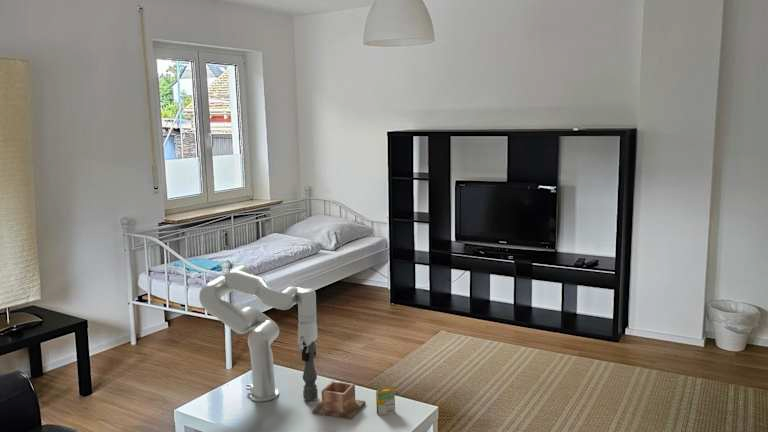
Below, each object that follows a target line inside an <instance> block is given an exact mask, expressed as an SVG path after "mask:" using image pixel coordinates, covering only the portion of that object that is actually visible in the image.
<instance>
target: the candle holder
mask: <svg viewBox="0 0 768 432" xmlns="http://www.w3.org/2000/svg"><path fill="white" fill-rule="evenodd" d="M304 345H306V344H304ZM304 348H305V349H306V347H305V346H304ZM308 352H309V361H304V369H303V373H302V380H303V381H304V385H303V391H302V394H303V396H302V397H303V400H306V401H314V400H317V399H318V397H319V394H318V391H319V390H318V385H317V384H316V381H317V378H318V374H317V371H316V368H315V367H316V366H315V361H314V360H315V358H316V356H315V354H314V352H315V341H314V342H313V343H312V344H310V345H309V348H308Z"/></svg>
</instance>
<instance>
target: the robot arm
mask: <svg viewBox="0 0 768 432" xmlns="http://www.w3.org/2000/svg"><path fill="white" fill-rule="evenodd" d="M233 291H236V292H240V293H243V294H247V295H249V296H253V297H256V298H257V300H258V301H260V302H261V303H263V304H264V305H265V306H267V307H271V308H274V309H277V310H282V311H286V310H289V309H291V308H292V307H293V306H294V305H297V307H298V308H297V309H298V312H297V313H298V325H297V345H298V348H299V350H300V352H301V361H303V362H305V361H309V352H308V348H309V345H310V344H312V343H313V342H314V341H315V352H314V354H315V357H316V356H317V341H318V322H317V321H318V320H317V319H318V317H317V294H316V290H315V289H314V288H310V287H309V288H303V287H298V286H293V285H292V286H288V287H286V288H285V289H284V290H282V291H278V290H275V289H272V288H270V287H269V286H267V285H266V281H265V278H263V277H262V276H259V275H255V274H253V273H252V270H251V269H250V268H249V267H247V266H246V265H239V266H236V267H235V268H233V269H230V270H229V271H227V272H225V273H224V274H222V275H220V276H218V277H216V278H214V279H212V280H211V281H208V282H207V283H205V284H204V285H203V286H202V287H201V289H200V292H199V296H198V297H199V298H198V299H199V302H200V304H201V306H202V308H203V309H204V310H205V311H206V312H207V313H208V314H210V315H211V316H213V317H214V318H216V319H217V320H219V321H221V322H222V323H223V324H224V325H225V326H227V327H228V328H230V330H232V331H233V332H235V333H237V334H239V335H243V334H246V333H247V332H249V331H250V332H249V334H248V336H247V345H248V350H249V354H250V365H251V379H252V383H247V384H246V388H245V389H246V391H250V393H249V398H250V400H251V401H254V402H260V403H262V402H269V401H273V400H274V399H276V398H278V396H279V393H280V392H279V389H278V388H276V385H275V368H274V354H273V350H272V348H271V347H272V346H271V345H272V343H273V342H274V341H275V340H276V339H277V338H278V336H279V334H280V327H279V326H278V324H277V323H276V322H275V321H274V320H273V319H272V318H270V317H269V316H267V315H266V314H265V313H263V312H262V311H261V310H259V309H257V308H256V307H253V306H245V307H243V308H241V309H239V308H238V307H237V306H235V305H234V304H232V303H230V302H229V301H226V300H224V299H222V298H223V297H225V296H226V295H228V294H229V293H231V292H233ZM304 344H306V345H304ZM304 346H305V347H306V349H305V348H304Z"/></svg>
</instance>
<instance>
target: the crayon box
mask: <svg viewBox="0 0 768 432" xmlns="http://www.w3.org/2000/svg"><path fill="white" fill-rule="evenodd" d="M395 395H396V394H395V386H390V387H383V388H378V389H377V390H376V391H375V398H376V399H375V400H376V403H375V404H376V414H377V415H378V416H385V415H386V416H387V415H391V414H396V400H395V399H396V398H395Z"/></svg>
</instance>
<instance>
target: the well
mask: <svg viewBox="0 0 768 432" xmlns="http://www.w3.org/2000/svg"><path fill="white" fill-rule="evenodd" d="M365 406H366V401H365V400H360V399H356V384H355V383H349V382H343V381H342V382H341V381H336V380H335V381H334V380H332V381H331V382H330V383H329V384H327V385H326V386H325V387H324V388H323V389H322V390H321V401H320V402H319V403H318V404H317V405H316V406H314V408H313V409H311V412H312V413H311V414H313V415H318V416H319V415H321V416H326V417H333V418H338V419H339V418H340V419H346V420H353V419H354V418H355V417H356V416H357V415H358V413H360V412H361V411H362V409H363V408H364V407H365Z"/></svg>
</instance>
